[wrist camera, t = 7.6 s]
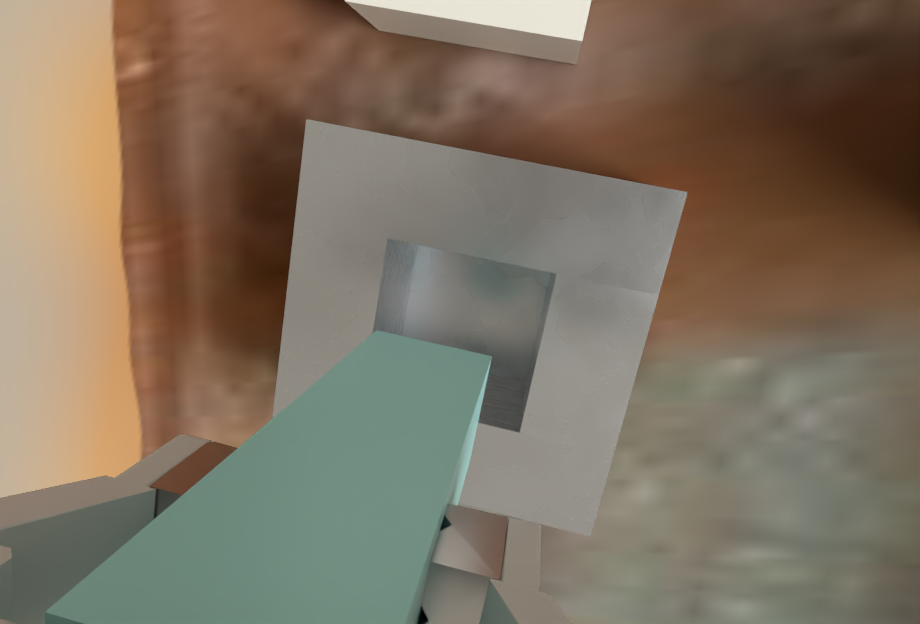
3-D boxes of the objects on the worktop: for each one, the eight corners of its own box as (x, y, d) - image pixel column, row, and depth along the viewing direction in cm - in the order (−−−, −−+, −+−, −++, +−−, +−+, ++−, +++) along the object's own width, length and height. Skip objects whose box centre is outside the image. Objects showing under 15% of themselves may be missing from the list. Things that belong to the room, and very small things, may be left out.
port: (364, 132, 24) (306, 119, 18) (653, 188, 23) (687, 192, 17) (328, 395, 27) (268, 454, 21) (581, 456, 26) (590, 536, 20)
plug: (376, 330, 15) (45, 612, 5) (491, 356, 14) (377, 710, 5) (359, 436, 15) (40, 862, 6) (469, 463, 15) (328, 963, 5)
